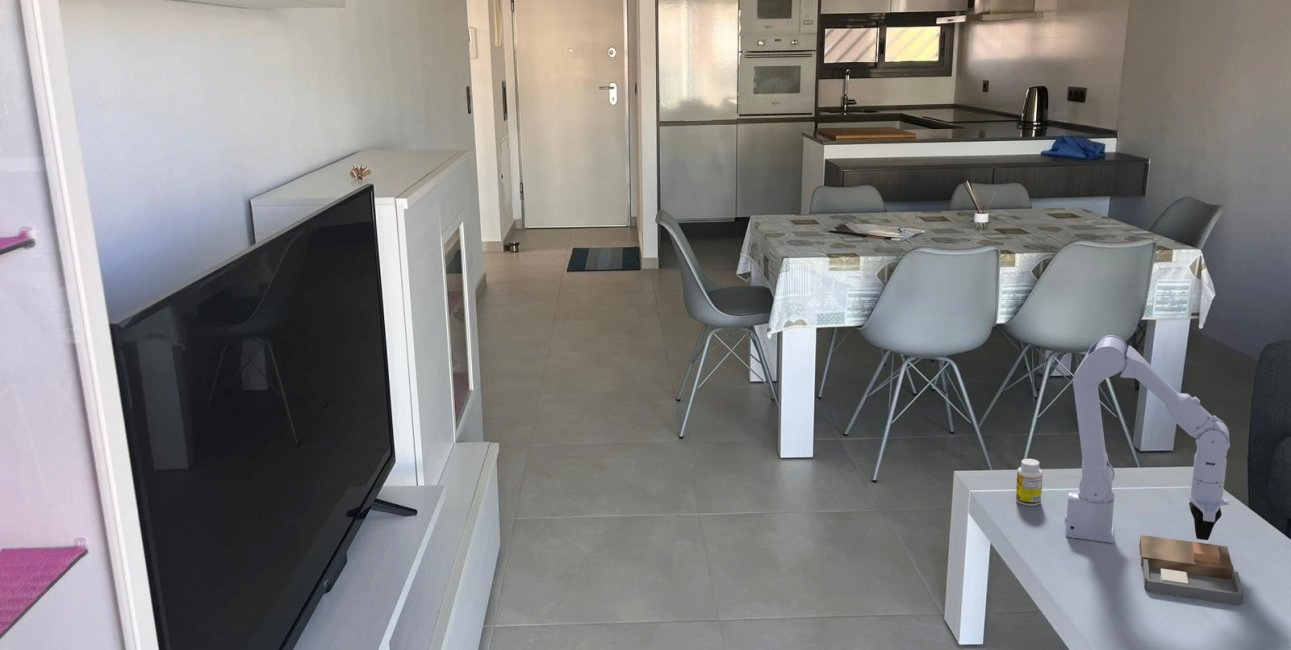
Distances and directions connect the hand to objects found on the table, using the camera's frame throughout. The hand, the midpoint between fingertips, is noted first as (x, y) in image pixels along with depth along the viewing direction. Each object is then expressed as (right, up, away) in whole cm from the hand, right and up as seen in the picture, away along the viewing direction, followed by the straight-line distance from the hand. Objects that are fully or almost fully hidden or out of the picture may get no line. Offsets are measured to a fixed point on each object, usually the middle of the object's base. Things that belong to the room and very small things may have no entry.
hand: (1201, 538), depth 202 cm
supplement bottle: (-26, +2, +27) cm, 37 cm away
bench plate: (-6, -4, -3) cm, 8 cm away
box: (-9, -7, -12) cm, 16 cm away
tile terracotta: (-3, -2, -6) cm, 7 cm away
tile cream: (-12, -5, -12) cm, 18 cm away
